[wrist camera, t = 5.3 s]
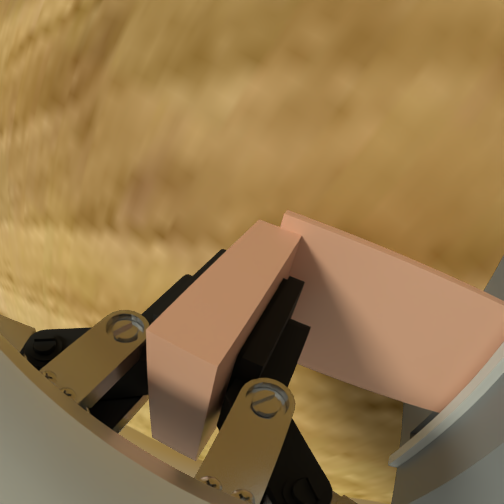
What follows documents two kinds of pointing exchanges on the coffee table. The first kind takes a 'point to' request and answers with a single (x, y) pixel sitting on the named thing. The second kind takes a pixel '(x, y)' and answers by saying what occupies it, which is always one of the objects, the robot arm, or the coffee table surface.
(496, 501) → the block
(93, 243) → the coffee table surface
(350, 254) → the pink l-shaped bracket
